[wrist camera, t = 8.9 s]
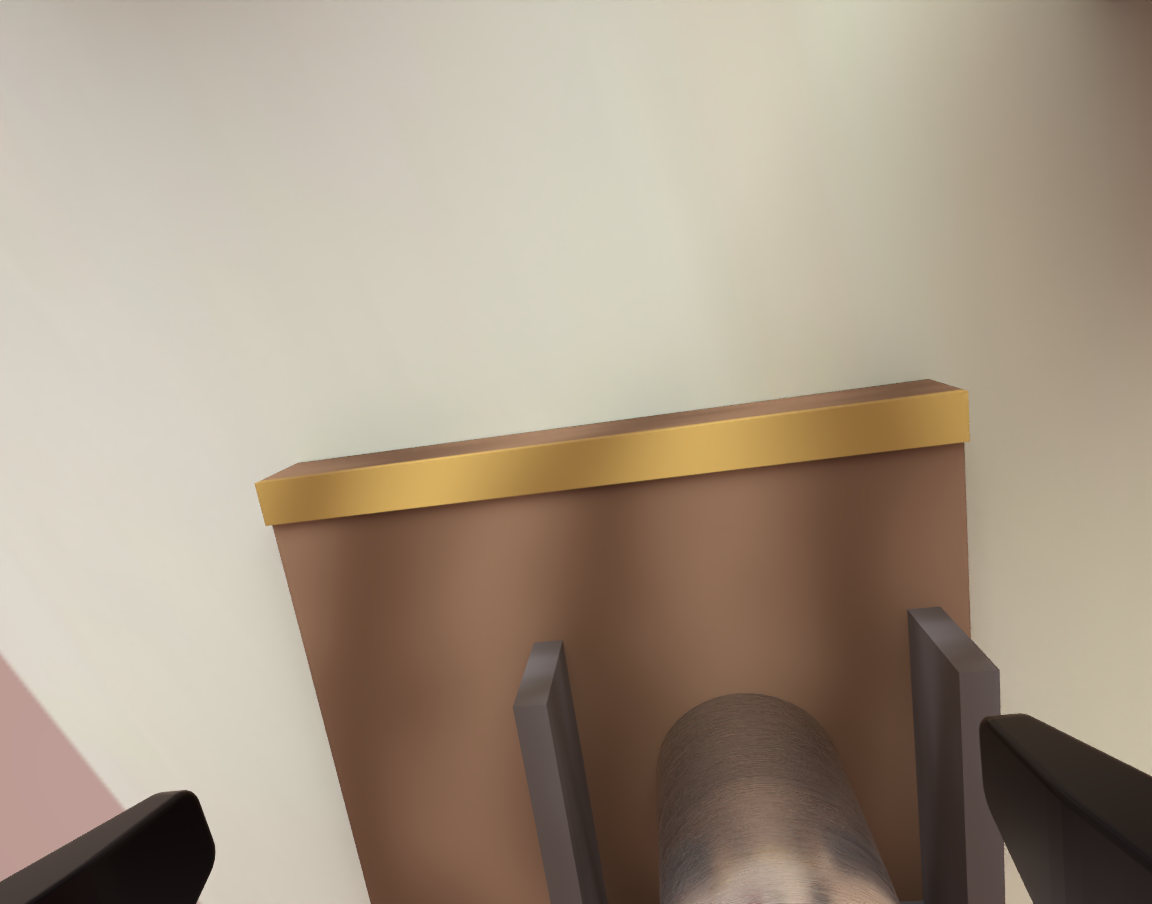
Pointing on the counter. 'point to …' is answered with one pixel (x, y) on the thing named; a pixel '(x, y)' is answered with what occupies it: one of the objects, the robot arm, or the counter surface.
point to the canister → (761, 811)
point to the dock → (641, 635)
